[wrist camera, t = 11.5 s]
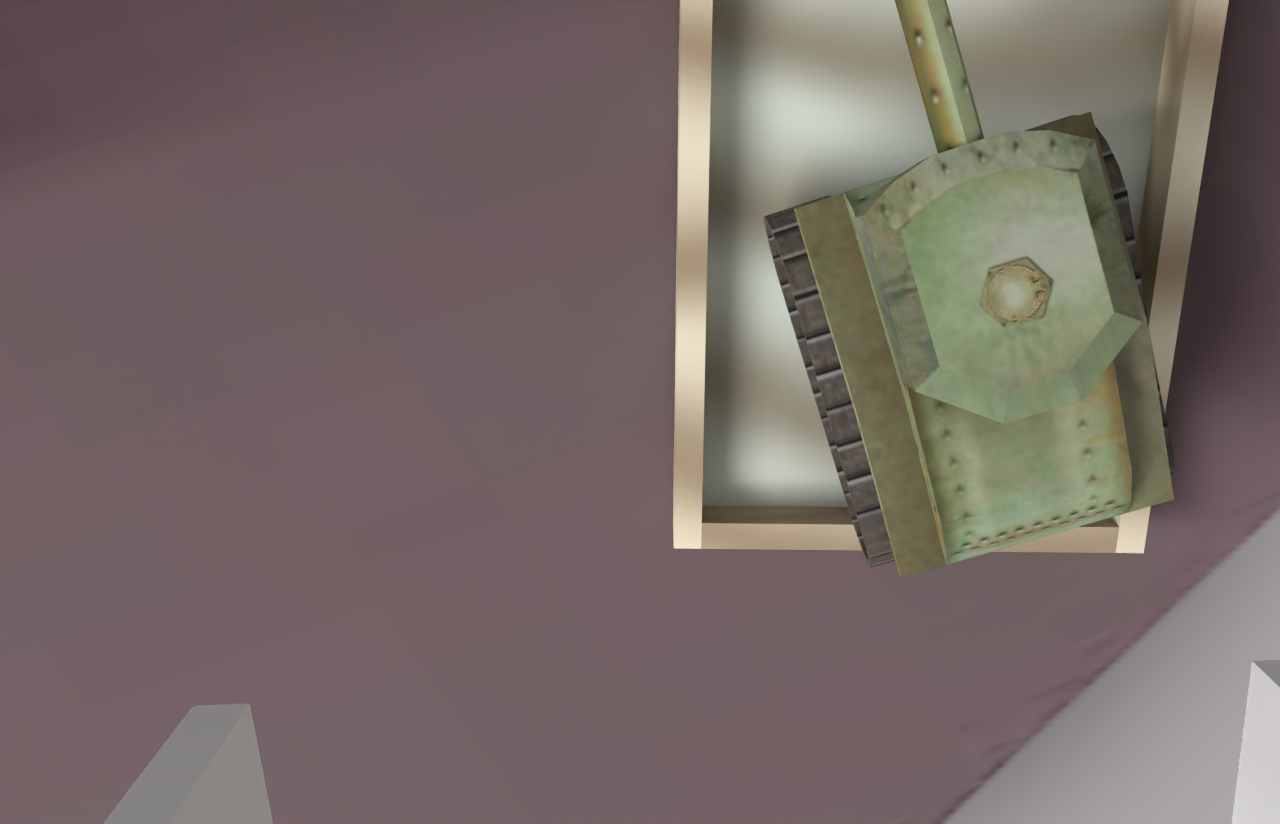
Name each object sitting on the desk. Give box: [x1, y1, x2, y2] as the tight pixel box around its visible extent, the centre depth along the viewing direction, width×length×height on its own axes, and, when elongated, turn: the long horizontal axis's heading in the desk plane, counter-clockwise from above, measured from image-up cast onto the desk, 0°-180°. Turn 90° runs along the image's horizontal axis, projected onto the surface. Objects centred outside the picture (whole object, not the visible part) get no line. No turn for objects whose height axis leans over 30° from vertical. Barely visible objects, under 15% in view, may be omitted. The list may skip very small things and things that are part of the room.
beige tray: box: [673, 0, 1229, 553], centre depth 36 cm, size 22×17×2 cm
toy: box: [764, 0, 1174, 577], centre depth 31 cm, size 10×18×10 cm, turn 18°
